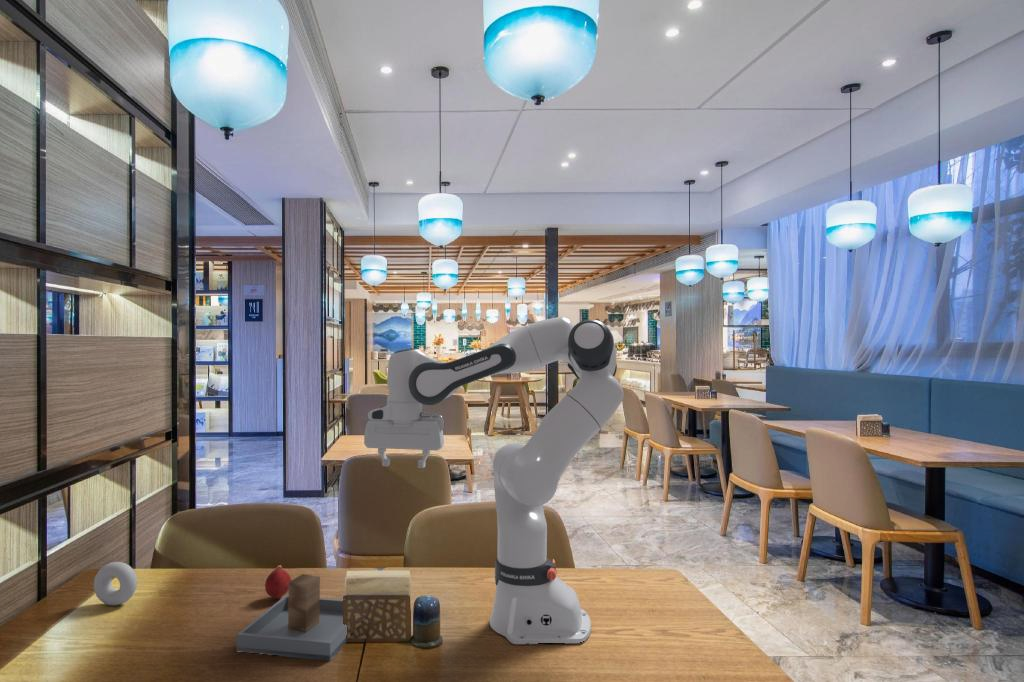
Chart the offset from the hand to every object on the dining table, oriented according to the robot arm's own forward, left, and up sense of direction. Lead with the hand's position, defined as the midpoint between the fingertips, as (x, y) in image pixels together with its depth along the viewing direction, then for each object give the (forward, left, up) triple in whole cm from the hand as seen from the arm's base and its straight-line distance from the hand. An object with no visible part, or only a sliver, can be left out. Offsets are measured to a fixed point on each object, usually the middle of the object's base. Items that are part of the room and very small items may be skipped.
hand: (403, 466), depth 140 cm
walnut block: (+14, +23, -30) cm, 40 cm away
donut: (+64, +19, -31) cm, 74 cm away
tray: (+13, +24, -31) cm, 41 cm away
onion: (+28, +10, -31) cm, 43 cm away
